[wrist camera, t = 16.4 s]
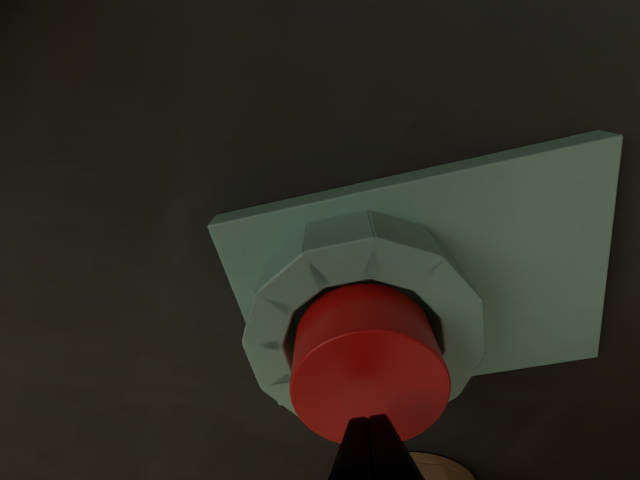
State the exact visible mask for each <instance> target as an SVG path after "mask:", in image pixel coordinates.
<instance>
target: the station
mask: <svg viewBox="0 0 640 480" xmlns="http://www.w3.org/2000/svg"><path fill="white" fill-rule="evenodd" d="M622 143H623V135H620V134H615V133H610V132H606V131H601V130H596V131H592V132H587V133H583V134H578V135H574V136H569V137H565V138H560V139H556V140H551V141H547V142H542V143H538V144H533V145H529V146H524V147H520V148H515V149H511V150H506V151H502V152H497V153H493V154H488V155H484V156H479V157H475V158H470V159H466V160H461V161H456V162H452V163H447V164H443V165H438V166H434V167H429V168H425V169H420V170H416V171H411V172H407V173H402V174H398V175H393V176H389V177H384V178H380V179H375V180H371V181H366V182H362V183H357V184H353V185H348V186H344V187H339V188H335V189H330V190H326V191H321V192H317V193H312V194H308V195H303V196H299V197H294V198H290V199H285V200H281V201H276V202H272V203H267V204H263V205H258V206H254V207H249V208H245V209H240V210H236V211H231V212H227V213H222V214H218V215H216V216H215V217H214V218H213V220H212V221H211V222H210V223H209V225H208V230H209V232H210V235H211V237H212V240H213V242H214V245H215V247H216V250H217V252H218V255H219V257H220V260H221V262H222V265H223V267H224V270H225V272H226V275H227V277H228V280H229V282H230V285H231V287H232V290H233V292H234V295H235V297H236V300H237V302H238V305H239V307H240V310H241V312H242V315H243V317H244V320H245V322H246V326H245V330H244V334H243V338H242V343H243V344H242V345H243V348H244V350H245V352H246V355H247V357H248V360H249V362H250V364H251V367H252V369H253V372H254V374H255V376H256V379H257V381H258V383H259V386H260V387H261V389H262V390H263V391H264V392H265V393H267V394H268V395H269V396H271V397H272V398H274V399H275V400H276V401H277V402H278V404H279V405H283V406H284V407H286V408H287V409H288V410H290V411H291V412H293V413H294V414H295V415H297V414H296V412H295V410H294V408H293V405H292V402H291V398H290V391H289V389H290V378H291V370H292V362H293V354H294V346H295V338H296V331H297V327H298V324H299V321H300V319H301V317H302V315H303V314H304V312H305V311H306V310H307V309H308V307H309V306H310V305H311V304H312V303H313V302H314V301H316V300H317V299H318V298H320V297H321V296H322V295H324V294H326V293H328V292H330V291H332V290H334V289H337V288H339V287H343V286H347V285H352V284H365V283H369V284H379V285H383V286H388V287H391V288H394V289H396V290H398V291H400V292H402V293H404V294H406V295H407V296H409V297H410V298H412V299H413V300H414V301H415V302H416V303H417V304H418V305H419V306H420V307H421V308H422V310H423V311H424V313H425V315H426V316H427V319H428V321H429V324H430V326H431V329H432V331H433V334H434V336H435V339H436V341H437V344H438V346H439V349H440V351H441V354H442V356H443V359H444V361H445V364H446V366H447V368H448V371H449V374H450V379H451V391H450V398H449V401H451V400H453V399H454V398H456V397H457V396H459V395H460V393H461V392H462V390H463V389H464V387H465V386H466V384H467V383H468V381H469V379H470V378H471V376H476V375H483V374H489V373H496V372H502V371H509V370H516V369H522V368H529V367H535V366H542V365H548V364H555V363H562V362H568V361H575V360H581V359H588V358H595V357H597V356H598V349H599V340H600V332H601V323H602V314H603V306H604V297H605V289H606V280H607V272H608V263H609V254H610V246H611V237H612V229H613V220H614V211H615V203H616V194H617V186H618V177H619V168H620V160H621V151H622ZM449 401H448V402H449ZM297 416H298V415H297ZM298 417H299V416H298Z"/></svg>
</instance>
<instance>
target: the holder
mask: <svg viewBox="0 0 640 480" xmlns="http://www.w3.org/2000/svg"><path fill="white" fill-rule="evenodd" d="M409 453H410V455H411V456H412V458H413V460H414V462H415V463H416V465H417V467H418V468H419V470H420V472H421V473H422V475H423V477H424V478H425V480H476V479H475V477H474V476H473V475H472V474H471V473H470V472H469V471H468V470H467V469H466V468H465V467H463V466H462V465H460V464H458V463H457V462H455V461H453V460H450V459H448V458H445V457H442V456H438V455H434V454H428V453H420V452H409Z"/></svg>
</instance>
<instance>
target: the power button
mask: <svg viewBox="0 0 640 480" xmlns="http://www.w3.org/2000/svg"><path fill="white" fill-rule="evenodd" d="M289 391H290V398H291V402H292V405H293V408H294V410H295V412H296V414H297V415H298V416H299V418H300V419H301V421H302V422H303V423H304V424H305V425H306V426H307V427H309V428H310V429H311V430H312V431H314V432H315V433H317V434H318V435H320V436H322V437H324V438H326V439H328V440H331V441H334V442H337V443H340V444H341V442H342V439H343V436H344V433H345V430H346V427H347V424H348V422H349V420H350V419H351V418H356V417H363V416H366V417H367V418H369V416H371V415H377V414H386V415H387V416H388V418H389V419H390V421H391V423H392V424H393V426H394V428H395V429H396V431H397V433H398V435H399V436H400V438H401V440H402V441H405V440H408V439H410V438H412V437H414V436H416V435H418V434H420V433H421V432H423V431H425V430H426V429H427V428H429V427H430V426H431V425H432V424H433V423H434V422H435V421H436V420H437V419H438V418H439V417H440V416H441V414H442V413H443V411H444V410H445V408H446V406H447V403H448V401H449V398H450V391H451V379H450V374H449V371H448V368H447V366H446V364H445V361H444V359H443V356H442V354H441V351H440V349H439V346H438V344H437V341H436V339H435V336H434V334H433V331H432V329H431V326H430V324H429V321H428V319H427V316H426V315H425V313H424V311H423V310H422V308H421V307H420V306H419V305H418V304H417V303H416V302H415V301H414V300H413V299H412V298H410V297H409V296H407V295H406V294H404V293H402V292H400V291H398V290H396V289H394V288H391V287H388V286H383V285H379V284H369V283H365V284H352V285H347V286H343V287H339V288H337V289H334V290H332V291H330V292H328V293H326V294H324V295H322V296H321V297H320V298H318V299H317V300H316V301H314V302H313V303H312V304H311V305H310V306H309V307H308V309H307V310H306V311H305V312H304V314H303V315H302V317H301V319H300V321H299V324H298V327H297V331H296V338H295V346H294V354H293V362H292V370H291V378H290V389H289Z"/></svg>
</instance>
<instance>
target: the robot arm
mask: <svg viewBox="0 0 640 480" xmlns="http://www.w3.org/2000/svg"><path fill="white" fill-rule="evenodd" d="M328 480H425V478H424V477H423V475H422V473H421V472H420V470H419V468H418V467H417V465H416V463H415V462H414V460H413V458H412V456H411V455H410V453H409V451H408V450H407V448H406V446H405V445H404V443H403V441H402V440H401V438H400V436H399V435H398V433H397V431H396V429H395V428H394V426H393V424H392V423H391V421H390V419H389V418H388V416H387V415H386V414H377V415H371V416H369V418H367V417H366V416H363V417H356V418H351V419H350V420H349V422H348V424H347V427H346V430H345V433H344V436H343V439H342V442H341V445H340V447H339V450H338V453H337V456H336V459H335V462H334V465H333V468H332V471H331V474H330V476H329V479H328Z"/></svg>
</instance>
